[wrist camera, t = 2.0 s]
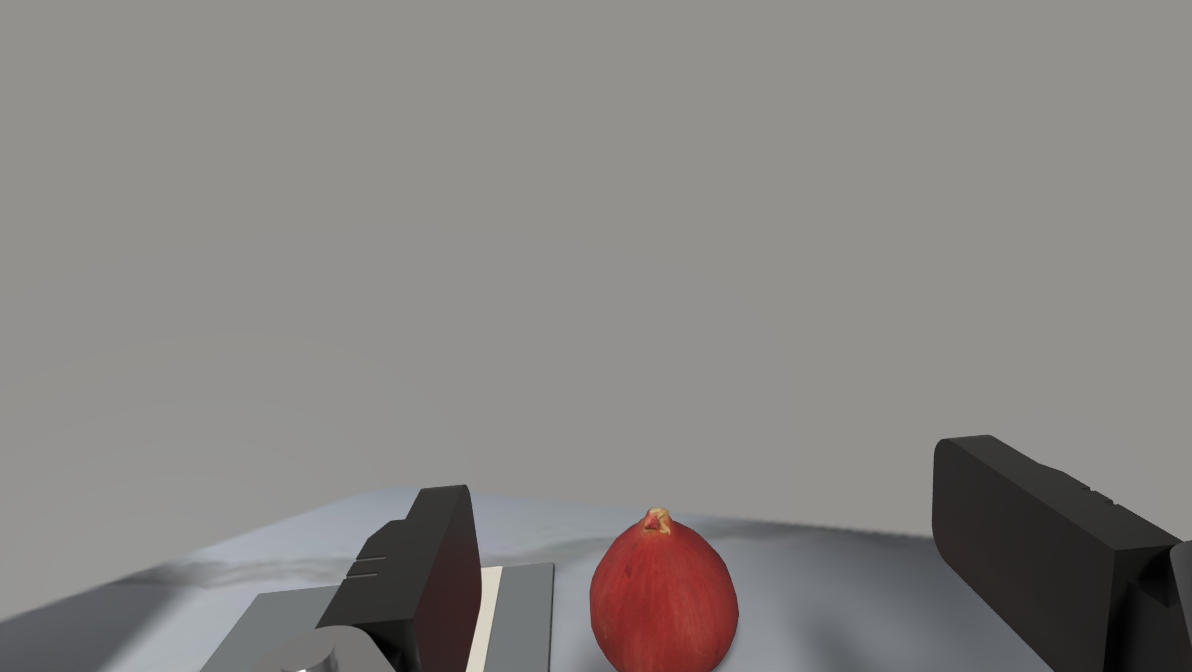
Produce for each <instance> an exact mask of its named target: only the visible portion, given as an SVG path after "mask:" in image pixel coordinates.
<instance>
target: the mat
mask: <svg viewBox="0 0 1192 672" xmlns="http://www.w3.org/2000/svg"><path fill="white" fill-rule="evenodd" d="M553 574H554V564H553V562H551V563H542V564H532V565H523V566H514V567H504V568H503V566H498V567H489V568H481V575H482V599H481V607H480V611H479V616H478V620H477V625H476V629H475V634H474V638H473V643H472V647H471V651H470V656H469V660H468V665H467V669H466V672H549V653H550V633H551V613H552V594H553ZM339 587H340V585H337V586H327V587H318V588H309V589H299V590H290V591H281V592H271V593H262V594H258V595H257V597H256V598H255V599H254V601H253V602H252V603H251V605H250V606H249V607H248V609H247V610H246V611H245V613H244V614H243V615H242V617H241V618H240V619H239V620H238V622H237V623H236V624H235V626H234V627H233V628H232V630H231V631H230V632H229V634H228V635H227V636H226V638H225V639H224V640H223V641H222V643H221V644H220V645H219V647H218V648H217V649H216V651H215V652H214V653H213V655H212V656H211V657H210V659H209V660H208V661H207V663H206V664H205V665H204V666H203V668H202V669H201V670H200V672H250V670H251V669H252V668H253V666H254V665H255V664H256V663H257V662H258V661H259V660H260V659H261V658H262V657H263V656H264V655H265V654H267V653H268V652H269V651H271V650H272V649H273V648H275V647H276V646H278V645H280V644H281V643H283V642H285V641H287V640H288V639H290V638H292V637H294V636H297V635H299V634H302V633H304V632H307V631H310V630H314V629H315V627H316V626H317V624H318V622H319V621H320V619H321V617H322V615H323V614H324V612H325V610H326V609H327V607H328V605H329V604H330V602H331V600H332V599H333V597H334V595H335V593H336V592H337V590H338V588H339Z"/></svg>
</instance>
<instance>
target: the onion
mask: <svg viewBox="0 0 1192 672" xmlns="http://www.w3.org/2000/svg"><path fill="white" fill-rule="evenodd" d="M590 615H591V627H592V630H593V632H594V635H595V638H596V640H597V643H598V645H599V647H600V648H601V650H602V651H603V653H604V655H605V656H606V658H607V659H608V661H609V662H610V663H611V664H612V665H613V666H614V667H615V669H616V670H617V671H618V672H710V671H711V670H712V669H713V668H715V667H716V666H717V665H718V664H719V663H720V662H721V660H722V659H723V657H724V656H725V654H726V653H727V652H728V650H729V648H730V645H731V643H732V640H733V638H734V635H735V632H736V627H737V622H738V617H739V610H738V603H737V596H736V593H735V590H734V586H733V583H732V580H731V577H730V574H729V572H728V569H727V567H726V564H725V563H724V561H723V560H722V558H721V557H720V555H719V554H718V553H717V552H716V551H715V550H714V549H713V548H712V547H711V546H710V545H709V544H708V543H707V542H706V541H705V540H704V539H703V538H702V537H701V536H700V535H699V534H698V533H696V532H695V531H694V530H692V529H690V528H688V527H686V526H684V525H682V524H680V523H678V522H676V521H673V520H672V519H671V518H670V516H669V513H668V510H666V509H665V508H653V507H652V508H651V509H650V510H649V511H648V512H647V514H646V516H645V518H643V519H641V520H640V521H639V522H638V523H636V524H634V525H632V526H631V527H629V528H628V529H627V530H626V531H625V532H623V533H622V534H621V535H620V536H619V537H617V538H616V540H615V541H614V542H613V544H612V545H611V547H610V548H609V550H608V551H607V553H606V554H605V556H604V557H603V559H602V560H601V562H600V563H599V565H598V566H597V568H596V571H595V573H594V575H593V578H592V582H591V587H590Z"/></svg>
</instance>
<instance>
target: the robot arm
mask: <svg viewBox="0 0 1192 672" xmlns="http://www.w3.org/2000/svg"><path fill="white" fill-rule="evenodd" d="M932 529H933V536H934V540H935V543H936V546H937V548H938V551H939V553H940V554H941V556H942V558H943V559H944V561H945V562H946V563H947V564H948V565H949V566H950V567H951V568H952V569H953V570H954V571H955V572H956V573H957V574H958V575H959V576H960V577H961V578H962V579H963V580H964V581H965V582H966V583H967V584H968V585H969V586H970V587H971V588H972V589H973V590H974V591H975V592H976V593H977V594H978V595H979V596H980V597H981V598H982V599H983V600H984V601H985V602H986V603H987V604H988V605H989V606H990V607H991V608H992V609H993V610H994V611H995V612H996V613H997V614H998V615H999V616H1000V617H1001V618H1002V619H1003V620H1004V621H1005V622H1006V623H1007V624H1008V625H1009V626H1010V627H1011V628H1012V629H1013V630H1014V631H1015V632H1016V633H1017V634H1018V635H1019V636H1020V637H1021V638H1022V639H1023V640H1024V641H1025V642H1026V643H1027V644H1028V645H1029V646H1030V647H1031V648H1032V649H1033V650H1034V651H1035V652H1036V653H1037V654H1038V655H1039V656H1040V657H1041V658H1042V659H1043V661H1044V662H1045V663H1046V664H1047V665H1048V666H1049V667H1050V668H1051V669H1052V670H1053V671H1054V672H1192V540H1191V541H1186V542H1183V541H1181V540H1180V539H1178V538H1176V537H1174V536H1173V535H1171V534H1169V533H1168V532H1166V531H1164V530H1162V529H1161V528H1159V527H1157V526H1155V525H1154V524H1152V523H1150V522H1149V521H1147V520H1145V519H1143V518H1141V517H1140V516H1138V515H1136V514H1135V513H1133V512H1131V511H1130V510H1128V509H1126V508H1124V507H1123V506H1121V505H1119V504H1117V505H1114V504H1113V501H1112V500H1111V499H1109V498H1107V497H1105V496H1104V495H1102V494H1100V493H1099V492H1097V491H1091V490H1090V487H1088V486H1086V485H1085V484H1083V483H1081V482H1080V481H1078V480H1076V479H1074V478H1073V477H1071V476H1069V475H1067V474H1066V473H1064V472H1062V471H1059V470H1056V469H1053V468H1050V467H1047V466H1044V465H1042V464H1039V463H1037V462H1035V461H1034V460H1032V459H1030V458H1029V457H1027V456H1025V455H1023V454H1022V453H1020V452H1018V451H1017V450H1015V449H1013V448H1012V447H1010V446H1008V445H1006V444H1005V443H1003V442H1002V441H1000V440H998V439H996V438H995V437H993V436H991V435H979V436H969V437H958V438H948V439H942V440H940V441H939V442H938V444H937V445H936V448H935V452H934V469H933V503H932ZM481 599H482V575H481V565H480V558H479V551H478V544H477V538H476V531H475V524H474V517H473V510H472V503H471V497H470V493H469V489H468V487H467V486H466V485H455V486H444V487H434V488H424V489H421V490H420V492H419V494H418V496H417V498H416V499H415V501H414V503H413V505H412V507H411V509H410V511H409V513H408V515H407V517H406V519H404V520H394V521H389V522H388V523H387V524H386V525H384V526H383V527H382V528H381V529H379V530H378V531H377V532H376V533H374V534H373V535H372V536H371V537H369V538H368V539H367V541H366V543H365V544H364V546H363V548H362V549H361V551H360V553H359V555H358V556H357V558H356V562H354V563H353V565H352V566H351V568H350V570H349V571H348V573H347V578H346V579H344V580H343V582H342V583H341V585H340V587H339V588H338V590H337V592H336V593H335V595H334V597H333V599H332V600H331V602H330V604H329V605H328V607H327V609H326V610H325V612H324V614H323V615H322V617H321V619H320V621H319V622H318V624H317V626H316V627H315V629H314V630H310V631H307V632H304V633H302V634H299V635H297V636H294V637H292V638H290V639H288V640H287V641H285V642H283V643H281V644H280V645H278V646H276V647H275V648H273V649H272V650H271V651H269V652H268V653H267V654H265V655H264V656H263V657H262V658H261V659H260V660H259V661H258V662H257V663H256V664H255V665H254V666H253V668H252V669H251V670H250V672H466V669H467V665H468V660H469V656H470V651H471V647H472V643H473V638H474V634H475V629H476V625H477V620H478V616H479V611H480V607H481Z"/></svg>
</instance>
